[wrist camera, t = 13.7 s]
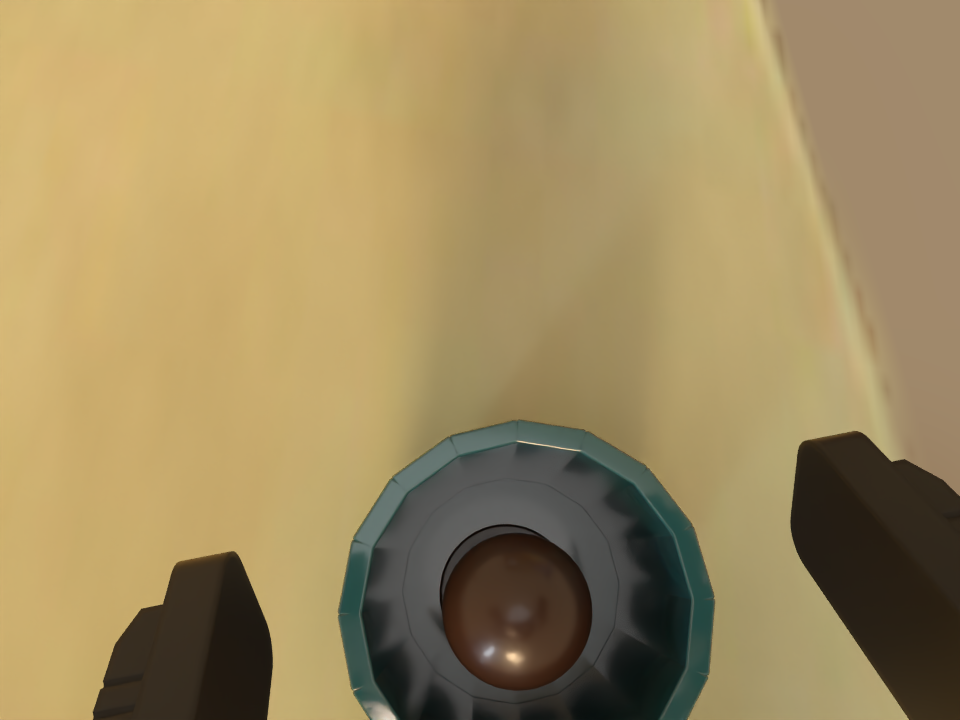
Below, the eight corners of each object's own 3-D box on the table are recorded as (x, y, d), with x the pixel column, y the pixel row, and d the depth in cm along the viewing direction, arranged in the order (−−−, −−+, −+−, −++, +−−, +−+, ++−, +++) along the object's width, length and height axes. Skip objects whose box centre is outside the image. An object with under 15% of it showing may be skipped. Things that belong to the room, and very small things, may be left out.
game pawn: (430, 647, 23) (399, 707, 14) (452, 515, 24) (437, 495, 15) (560, 669, 23) (611, 744, 14) (578, 535, 24) (635, 528, 15)
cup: (369, 693, 24) (305, 776, 15) (413, 449, 25) (378, 397, 17) (615, 735, 23) (696, 845, 15) (642, 485, 25) (728, 451, 16)
